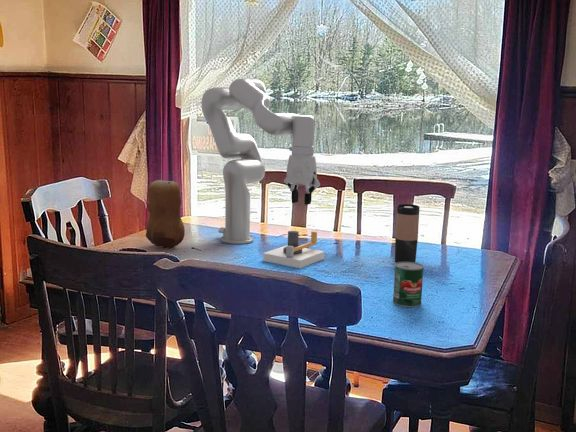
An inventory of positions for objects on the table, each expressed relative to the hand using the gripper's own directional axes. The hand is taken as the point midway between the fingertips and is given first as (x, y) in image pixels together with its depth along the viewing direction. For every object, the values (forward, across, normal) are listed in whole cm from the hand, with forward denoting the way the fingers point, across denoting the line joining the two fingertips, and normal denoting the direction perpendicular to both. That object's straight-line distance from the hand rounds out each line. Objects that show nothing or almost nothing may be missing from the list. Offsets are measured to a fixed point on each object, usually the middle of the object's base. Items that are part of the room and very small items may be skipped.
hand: (301, 202), depth 221 cm
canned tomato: (+20, +51, -24) cm, 60 cm away
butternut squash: (+20, -46, -20) cm, 54 cm away
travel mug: (+20, +33, +16) cm, 42 cm away
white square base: (+19, +3, -10) cm, 22 cm away
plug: (+18, +3, -10) cm, 21 cm away
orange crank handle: (+15, +6, -8) cm, 18 cm away
